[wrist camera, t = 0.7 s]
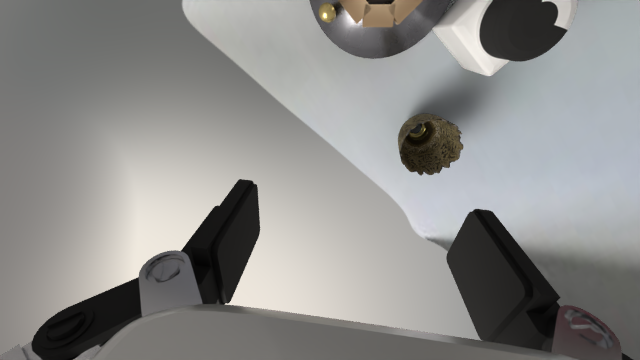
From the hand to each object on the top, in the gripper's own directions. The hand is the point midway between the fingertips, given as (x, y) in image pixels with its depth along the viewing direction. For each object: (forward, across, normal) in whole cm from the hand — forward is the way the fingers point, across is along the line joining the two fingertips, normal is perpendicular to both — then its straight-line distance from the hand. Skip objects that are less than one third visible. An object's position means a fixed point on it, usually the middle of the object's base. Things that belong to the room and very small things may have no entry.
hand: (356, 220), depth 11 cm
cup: (+28, -10, +4) cm, 31 cm away
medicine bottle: (+28, -14, -9) cm, 33 cm away
